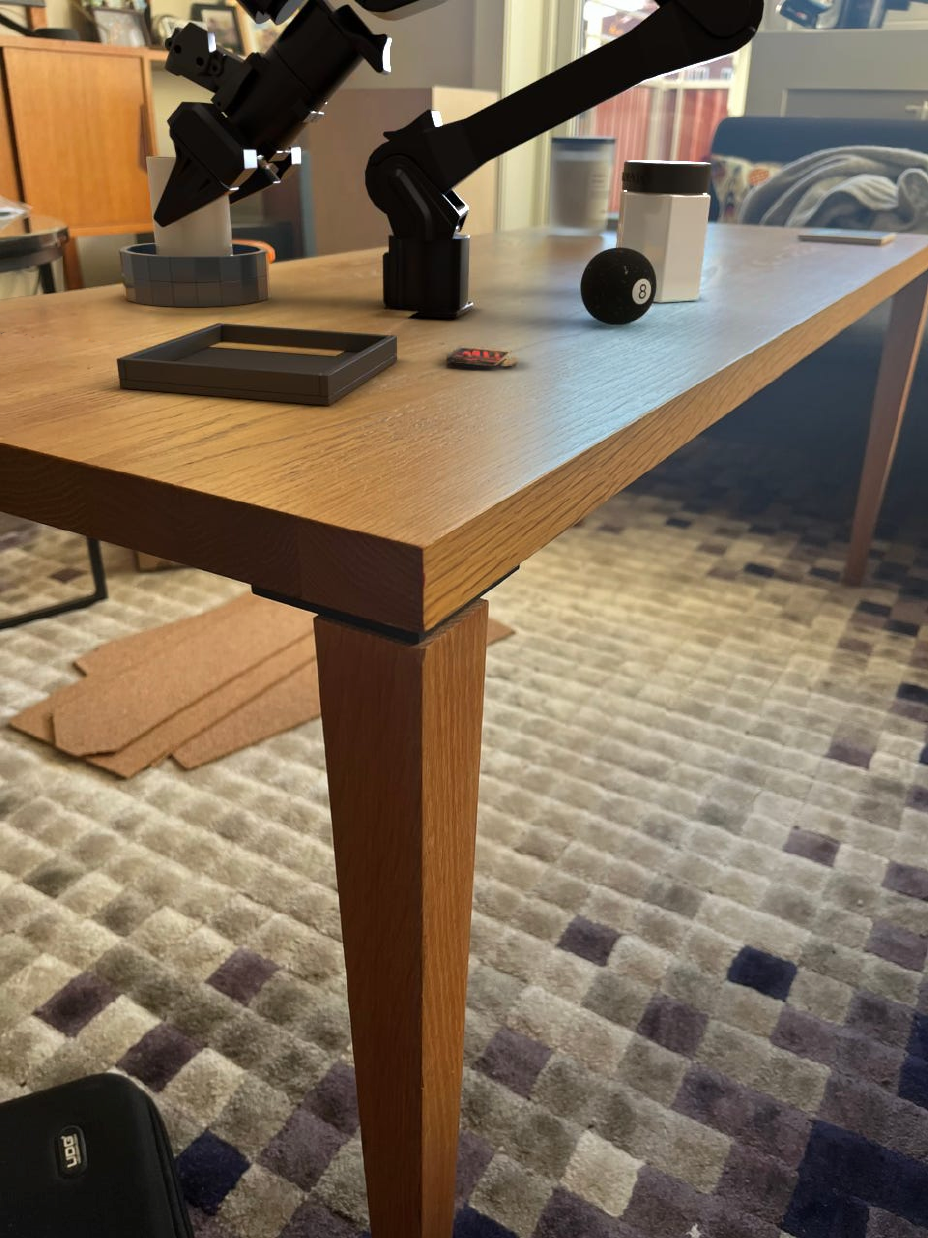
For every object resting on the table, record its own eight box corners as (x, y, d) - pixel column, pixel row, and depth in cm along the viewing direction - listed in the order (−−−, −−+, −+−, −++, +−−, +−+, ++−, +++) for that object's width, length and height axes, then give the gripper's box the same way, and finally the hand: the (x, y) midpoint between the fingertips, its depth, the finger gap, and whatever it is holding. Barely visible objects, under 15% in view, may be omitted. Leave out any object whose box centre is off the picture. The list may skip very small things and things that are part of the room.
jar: (608, 288, 102) (618, 159, 97) (688, 290, 102) (703, 161, 97) (616, 301, 94) (628, 161, 89) (703, 304, 94) (720, 164, 89)
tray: (397, 361, 67) (397, 335, 67) (328, 406, 56) (327, 375, 55) (219, 347, 70) (217, 322, 69) (119, 387, 59) (115, 358, 58)
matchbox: (445, 366, 65) (445, 359, 65) (448, 351, 70) (448, 344, 70) (516, 369, 65) (516, 361, 65) (515, 353, 70) (515, 347, 70)
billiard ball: (610, 333, 79) (617, 252, 76) (563, 321, 84) (568, 244, 81) (666, 327, 82) (675, 249, 79) (619, 316, 86) (625, 242, 84)
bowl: (291, 297, 92) (288, 245, 90) (233, 318, 81) (228, 259, 79) (170, 290, 94) (165, 239, 92) (98, 309, 83) (90, 252, 81)
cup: (248, 293, 89) (239, 157, 84) (215, 303, 84) (204, 158, 79) (182, 289, 91) (170, 154, 86) (146, 298, 85) (130, 155, 80)
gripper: (257, 2, 85) (146, 141, 91) (182, -31, 68) (51, 142, 74) (351, 108, 88) (237, 237, 94) (300, 101, 71) (166, 258, 77)
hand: (177, 218), depth 85 cm, fingers open, 9 cm apart
